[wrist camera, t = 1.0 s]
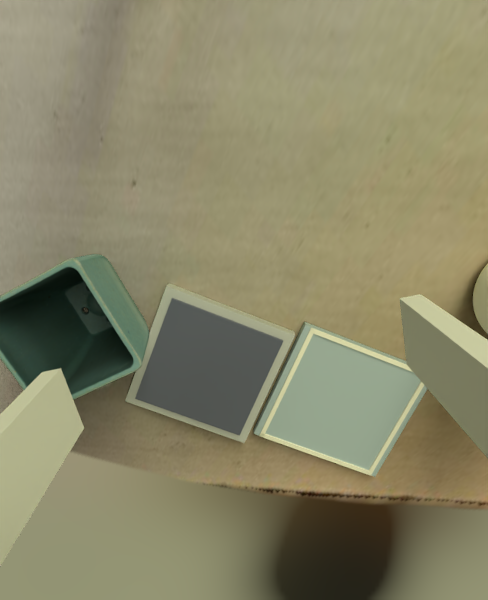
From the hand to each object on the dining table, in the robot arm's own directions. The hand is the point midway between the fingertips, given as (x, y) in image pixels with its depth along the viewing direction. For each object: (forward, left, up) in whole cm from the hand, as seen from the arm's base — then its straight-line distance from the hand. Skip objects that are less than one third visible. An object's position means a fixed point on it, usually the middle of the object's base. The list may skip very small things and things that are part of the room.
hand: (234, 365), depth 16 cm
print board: (+14, -9, -21) cm, 26 cm away
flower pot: (-10, -8, -21) cm, 25 cm away
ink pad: (+1, -10, -21) cm, 23 cm away
